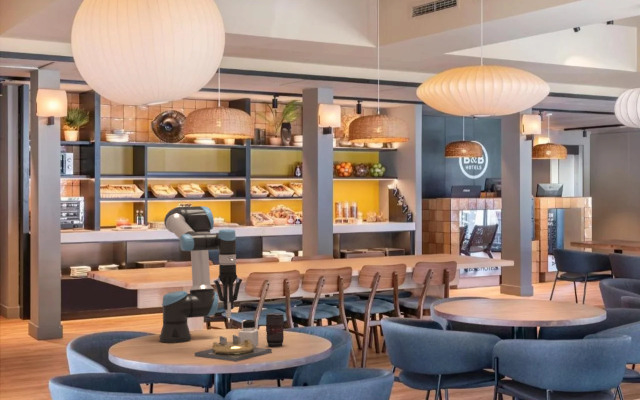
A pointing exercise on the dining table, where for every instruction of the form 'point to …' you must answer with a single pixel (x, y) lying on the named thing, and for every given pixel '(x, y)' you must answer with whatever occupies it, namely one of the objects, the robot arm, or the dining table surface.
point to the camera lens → (274, 329)
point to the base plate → (233, 357)
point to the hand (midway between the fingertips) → (228, 316)
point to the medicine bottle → (249, 332)
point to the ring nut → (232, 346)
